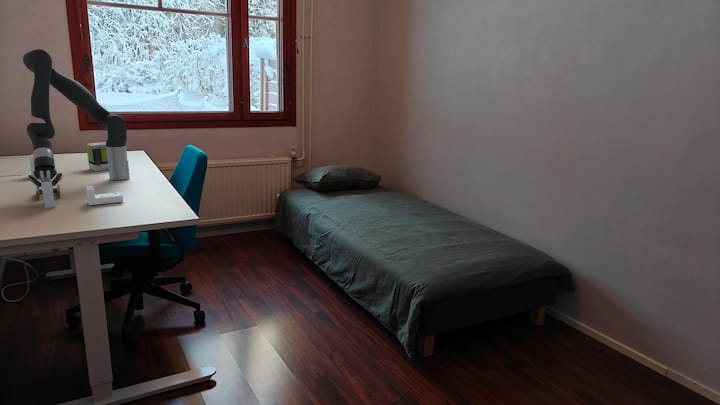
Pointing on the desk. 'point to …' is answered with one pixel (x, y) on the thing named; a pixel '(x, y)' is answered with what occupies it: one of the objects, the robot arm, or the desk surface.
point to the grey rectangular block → (47, 192)
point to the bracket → (102, 197)
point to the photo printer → (32, 163)
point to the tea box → (97, 156)
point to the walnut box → (55, 192)
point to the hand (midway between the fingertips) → (47, 193)
